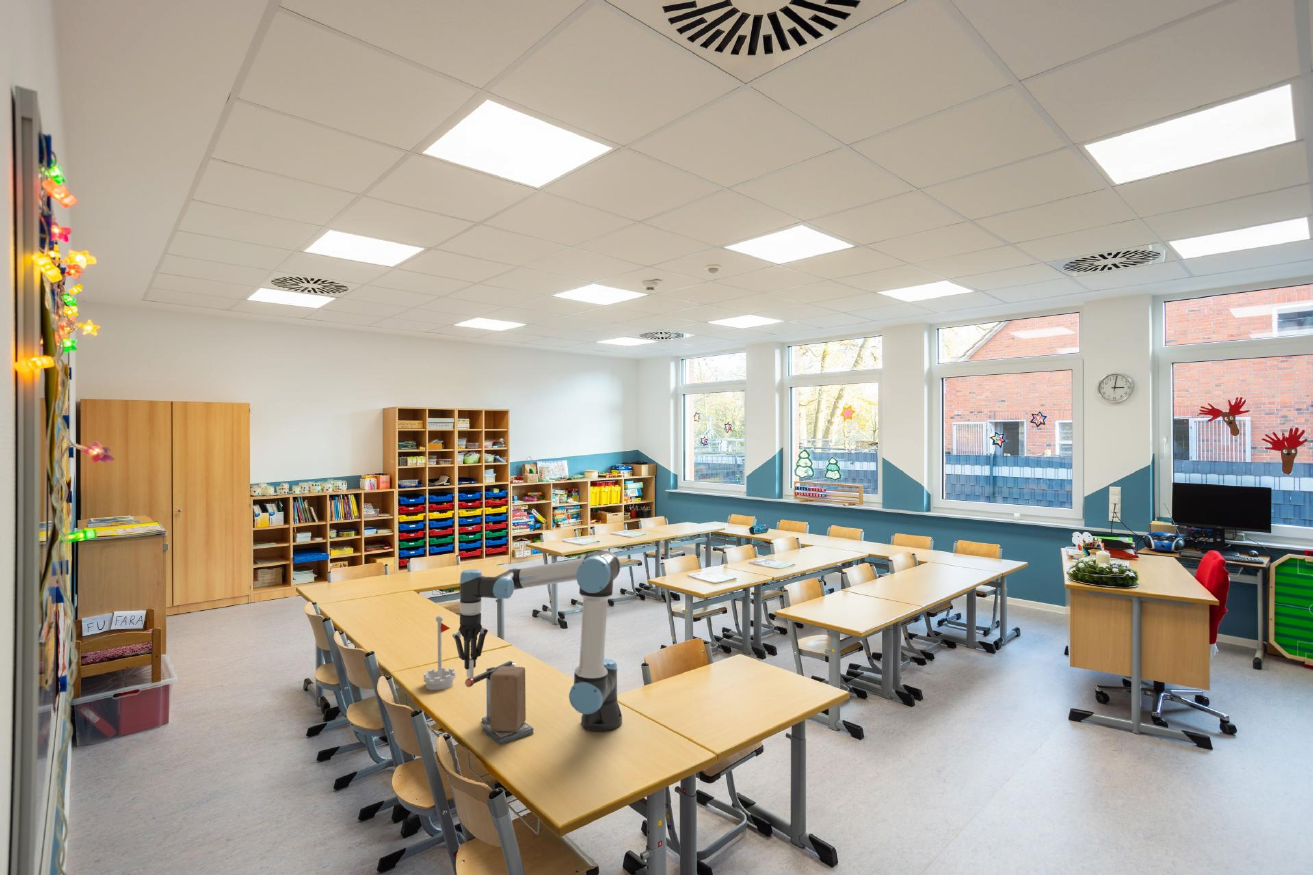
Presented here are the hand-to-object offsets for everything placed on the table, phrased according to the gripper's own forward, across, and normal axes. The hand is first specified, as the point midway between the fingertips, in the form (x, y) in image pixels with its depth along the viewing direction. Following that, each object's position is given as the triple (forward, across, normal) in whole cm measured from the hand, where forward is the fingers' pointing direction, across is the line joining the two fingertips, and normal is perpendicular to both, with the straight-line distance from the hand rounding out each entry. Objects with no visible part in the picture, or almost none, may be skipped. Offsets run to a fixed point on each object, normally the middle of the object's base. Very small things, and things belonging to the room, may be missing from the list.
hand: (470, 677), depth 232 cm
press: (+18, -9, +8) cm, 22 cm away
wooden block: (+16, -9, +12) cm, 22 cm away
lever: (+4, -9, 0) cm, 10 cm away
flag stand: (+19, -8, -49) cm, 53 cm away
